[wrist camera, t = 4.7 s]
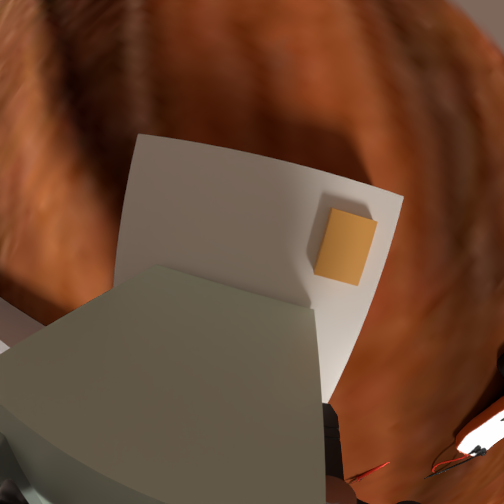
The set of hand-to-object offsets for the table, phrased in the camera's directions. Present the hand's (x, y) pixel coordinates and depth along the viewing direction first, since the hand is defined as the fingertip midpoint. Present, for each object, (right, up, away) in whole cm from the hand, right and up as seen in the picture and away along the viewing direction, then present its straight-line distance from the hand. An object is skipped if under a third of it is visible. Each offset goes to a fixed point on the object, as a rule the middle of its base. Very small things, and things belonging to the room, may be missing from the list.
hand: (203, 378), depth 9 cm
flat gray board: (-1, -6, +7) cm, 9 cm away
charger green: (+1, +1, +4) cm, 4 cm away
